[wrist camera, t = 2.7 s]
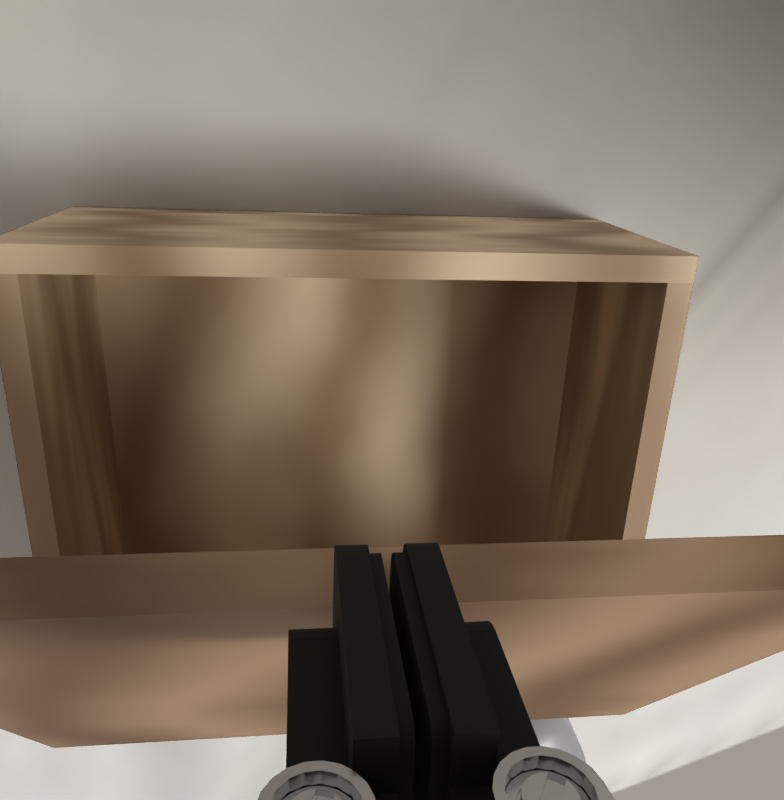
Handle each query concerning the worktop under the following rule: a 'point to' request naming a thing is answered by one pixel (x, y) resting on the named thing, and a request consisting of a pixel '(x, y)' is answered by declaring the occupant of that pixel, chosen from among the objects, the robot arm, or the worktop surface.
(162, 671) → the lid
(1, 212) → the worktop surface
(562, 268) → the storage box
